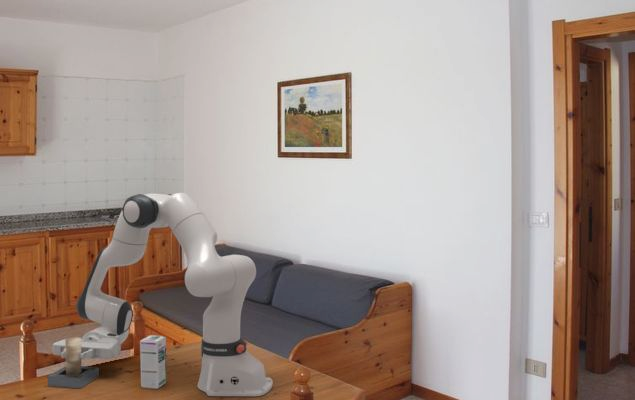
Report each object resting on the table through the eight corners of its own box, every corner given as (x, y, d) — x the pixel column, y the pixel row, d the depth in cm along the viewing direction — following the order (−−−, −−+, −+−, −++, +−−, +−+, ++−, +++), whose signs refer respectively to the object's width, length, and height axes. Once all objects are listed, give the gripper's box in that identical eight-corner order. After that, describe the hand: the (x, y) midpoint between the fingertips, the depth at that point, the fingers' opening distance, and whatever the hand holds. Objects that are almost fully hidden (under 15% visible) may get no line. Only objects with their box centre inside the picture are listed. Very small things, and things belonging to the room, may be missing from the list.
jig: (98, 376, 196) (98, 367, 196) (80, 388, 185) (80, 378, 185) (67, 374, 198) (67, 365, 197) (47, 386, 187) (47, 376, 187)
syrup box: (158, 389, 186) (158, 340, 185) (139, 387, 187) (139, 339, 186) (166, 382, 191) (166, 335, 190) (148, 381, 192) (148, 334, 192)
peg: (84, 376, 193) (83, 337, 193) (76, 380, 189) (75, 341, 188) (71, 375, 194) (70, 336, 193) (62, 379, 190) (62, 340, 189)
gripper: (66, 332, 205) (40, 343, 192) (124, 335, 202) (102, 348, 188) (66, 351, 206) (40, 364, 192) (124, 355, 202) (102, 368, 189)
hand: (71, 356), depth 190 cm, fingers closed on peg, 4 cm apart
